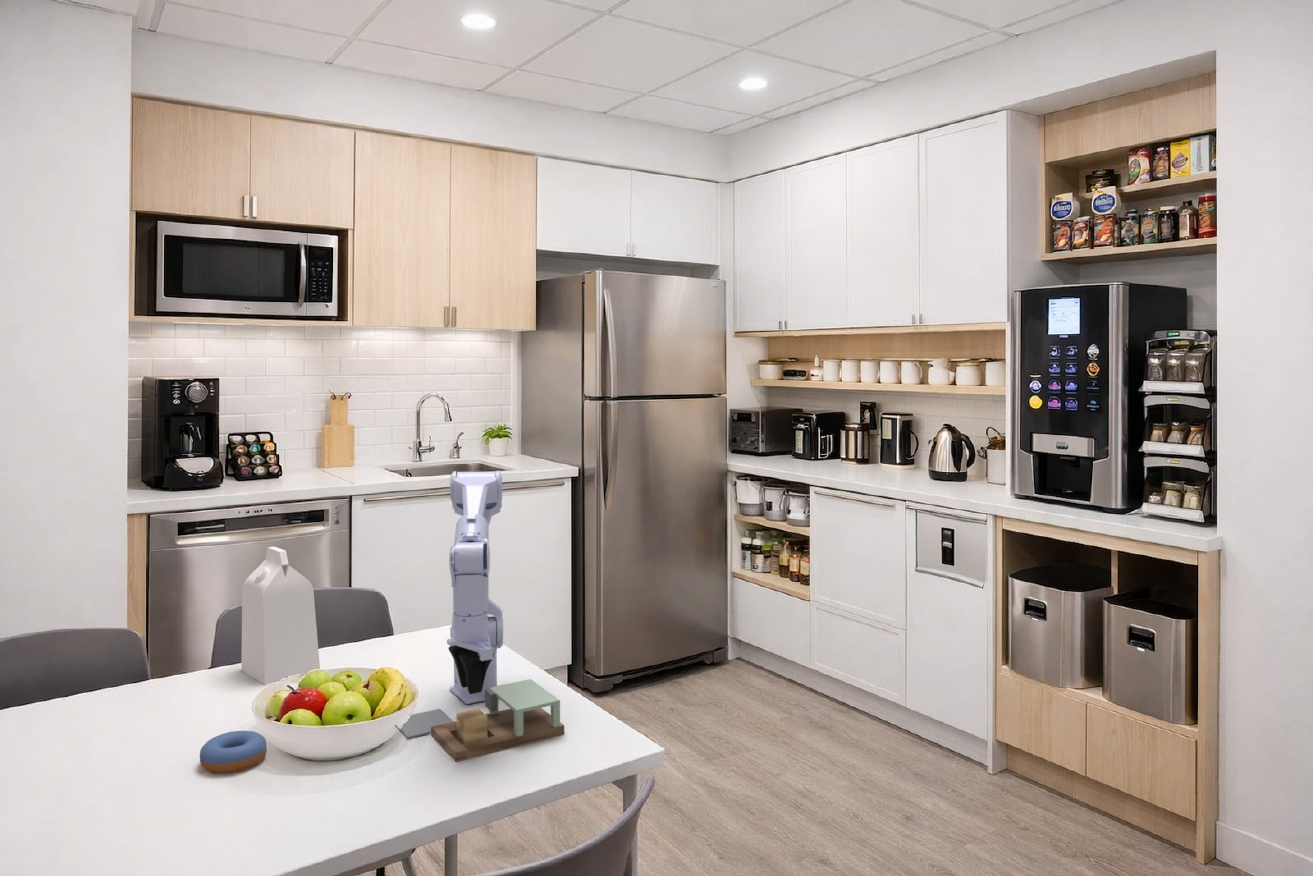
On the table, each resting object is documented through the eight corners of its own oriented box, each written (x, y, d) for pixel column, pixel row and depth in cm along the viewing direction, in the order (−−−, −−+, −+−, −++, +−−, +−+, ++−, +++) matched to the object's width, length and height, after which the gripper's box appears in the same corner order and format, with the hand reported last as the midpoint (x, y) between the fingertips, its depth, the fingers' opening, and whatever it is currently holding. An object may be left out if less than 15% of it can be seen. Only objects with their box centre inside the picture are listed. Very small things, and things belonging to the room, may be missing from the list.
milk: (320, 670, 185) (316, 549, 183) (264, 685, 177) (260, 558, 174) (295, 656, 193) (291, 540, 191) (241, 670, 185) (236, 548, 183)
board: (431, 735, 154) (431, 726, 154) (534, 710, 165) (534, 702, 165) (455, 761, 144) (455, 752, 144) (564, 733, 155) (564, 725, 155)
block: (456, 741, 152) (456, 713, 151) (478, 735, 154) (478, 708, 154) (465, 749, 149) (464, 721, 148) (487, 744, 151) (487, 716, 150)
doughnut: (237, 742, 150) (235, 717, 149) (281, 755, 146) (279, 730, 145) (186, 772, 141) (183, 747, 140) (232, 788, 137) (229, 761, 136)
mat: (392, 721, 160) (392, 719, 160) (440, 710, 165) (440, 708, 165) (407, 739, 152) (407, 737, 152) (457, 727, 157) (457, 725, 157)
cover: (484, 714, 159) (484, 689, 159) (530, 703, 164) (530, 679, 164) (511, 738, 149) (511, 711, 149) (559, 726, 154) (559, 700, 154)
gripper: (433, 605, 153) (434, 680, 154) (463, 626, 141) (464, 708, 142) (471, 599, 157) (472, 673, 158) (504, 619, 145) (505, 699, 146)
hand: (471, 689), depth 150 cm, fingers open, 3 cm apart
